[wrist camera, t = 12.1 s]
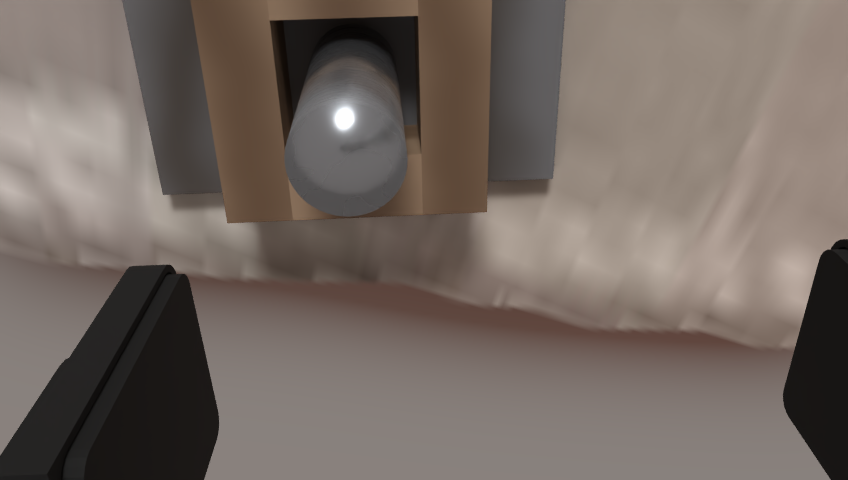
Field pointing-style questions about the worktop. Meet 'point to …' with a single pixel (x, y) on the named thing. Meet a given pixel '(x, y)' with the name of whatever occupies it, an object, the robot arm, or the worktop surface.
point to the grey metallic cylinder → (348, 125)
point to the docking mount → (285, 75)
